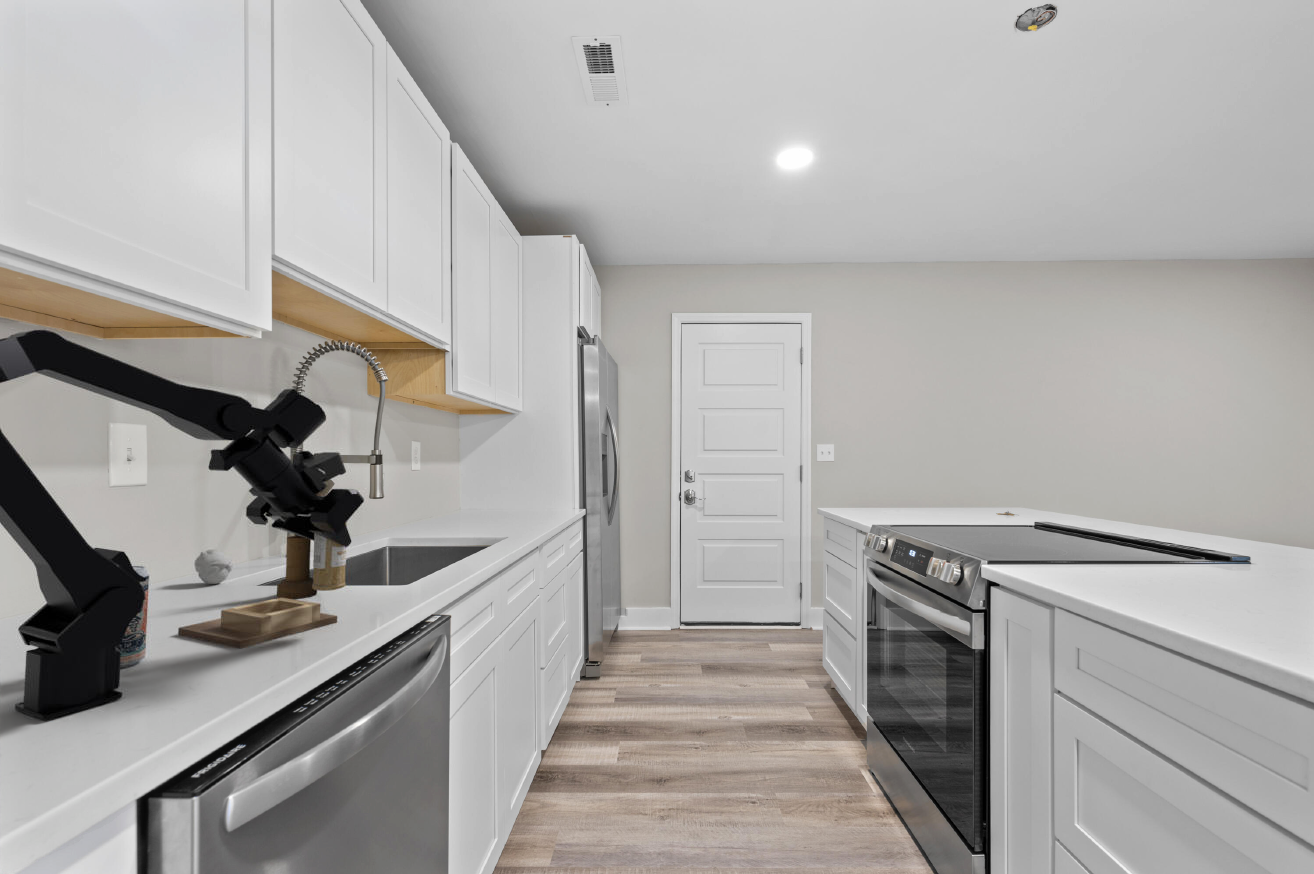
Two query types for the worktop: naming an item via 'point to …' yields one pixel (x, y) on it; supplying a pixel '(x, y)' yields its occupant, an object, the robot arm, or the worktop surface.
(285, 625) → the socket
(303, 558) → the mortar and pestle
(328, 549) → the spice jar
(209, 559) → the white lumpy ball
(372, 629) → the worktop surface
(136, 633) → the beer can
